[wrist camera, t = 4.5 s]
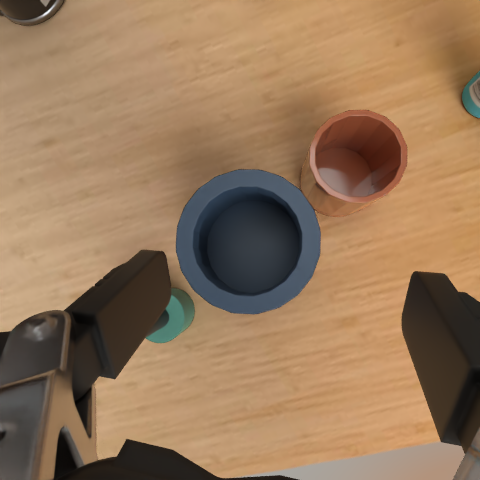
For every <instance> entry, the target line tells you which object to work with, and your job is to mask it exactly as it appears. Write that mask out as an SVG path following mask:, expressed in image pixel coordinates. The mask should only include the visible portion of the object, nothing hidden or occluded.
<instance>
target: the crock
mask: <svg viewBox="0 0 480 480" xmlns="http://www.w3.org/2000/svg"><path fill="white" fill-rule="evenodd" d="M406 166H407V145H406V143H405V141H404V138H403V136H402V134H401V132H400V130H399V129H398V128H397V127H396V126H395V125H394V124H393V123H392V122H391V121H390V120H389V119H388V118H386V117H385V116H382V115H380V114H377V113H374V112H372V111H369V110H348V111H345V112H343V113H340V114H338V115H336V116H333V117H331V118H330V119H328V120H327V121H326V122H325V123H324V124H323V125H322V126H321V127H320V128H319V129H318V130H317V132H316V134H315V136H314V138H313V141H312V143H311V145H310V147H309V150H308V153H307V156H306V159H305V162H304V165H303V168H302V171H301V178H300V186H301V191H302V193H303V195H304V196H305V197H306V199H307V200H308V202H309V203H310V204H311V206H312V207H313V209H315V210H316V211H318V212H320V213H322V214H324V215H328V216H334V217H341V216H346V215H350V214H352V213H354V212H357V211H359V210H361V209H363V208H364V207H366V206H368V205H370V204H371V203H373V202H375V201H377V200H378V199H380V198H382V197H384V196H385V195H387V194H388V193H389V192H390V191H391V190H392V189H393V188H394V187H395V186H396V185H397V184H398V183H399V182H400V180H401V178H402V176H403V173H404V171H405V169H406Z"/></svg>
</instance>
